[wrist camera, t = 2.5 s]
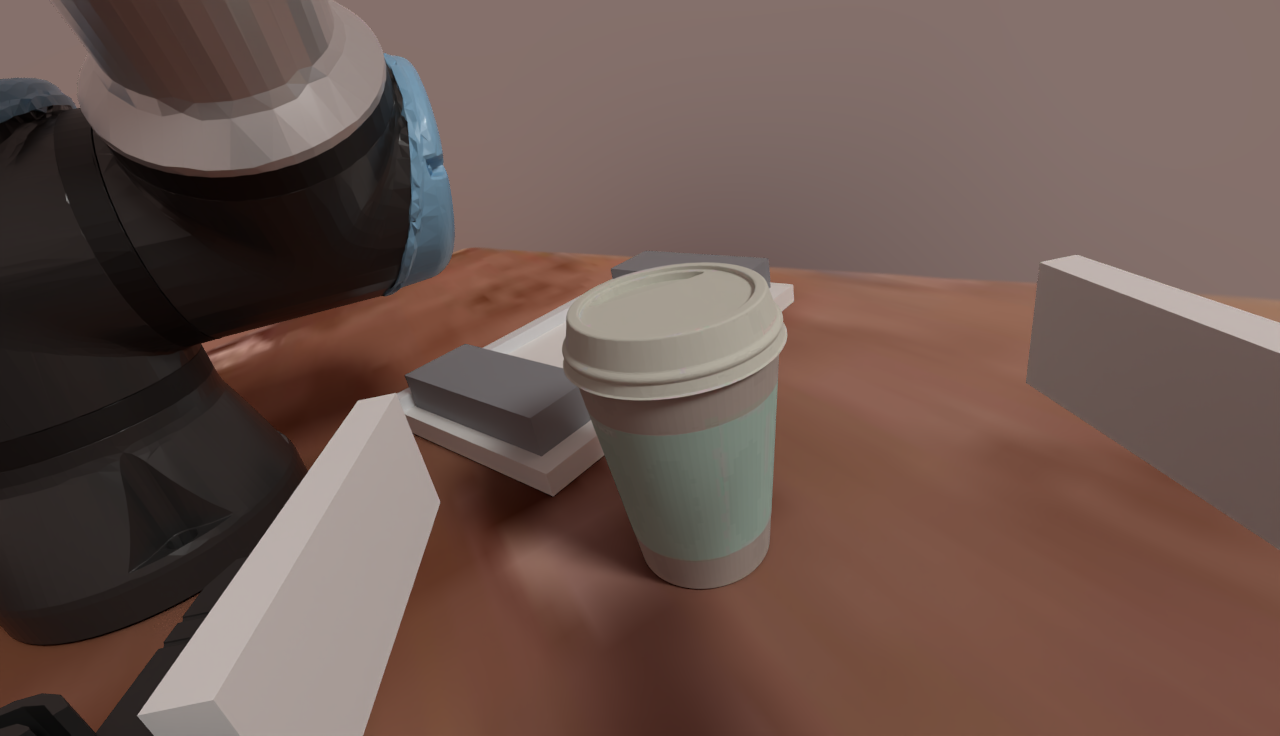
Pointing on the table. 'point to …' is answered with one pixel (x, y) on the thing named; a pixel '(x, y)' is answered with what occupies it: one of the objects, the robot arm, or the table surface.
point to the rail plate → (520, 460)
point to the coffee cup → (685, 410)
